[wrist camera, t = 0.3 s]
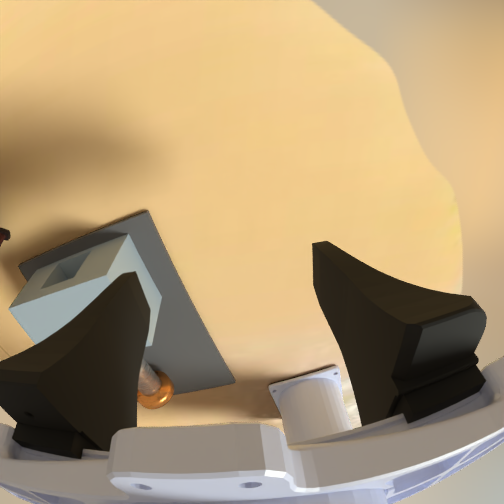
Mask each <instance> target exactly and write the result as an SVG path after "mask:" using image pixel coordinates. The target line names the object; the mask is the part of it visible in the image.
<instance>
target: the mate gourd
mask: <svg viewBox="0 0 504 504" xmlns="http://www.w3.org/2000/svg"><path fill="white" fill-rule="evenodd" d="M9 239H10V231H9V230H6V229H3V228H0V246H1V244H2V242H3V240H7V241H8V240H9Z"/></svg>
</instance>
